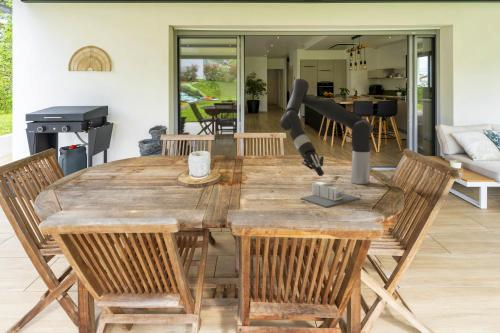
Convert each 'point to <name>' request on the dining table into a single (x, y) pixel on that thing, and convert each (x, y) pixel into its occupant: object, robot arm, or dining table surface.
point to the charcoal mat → (328, 202)
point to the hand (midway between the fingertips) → (321, 175)
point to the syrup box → (327, 190)
